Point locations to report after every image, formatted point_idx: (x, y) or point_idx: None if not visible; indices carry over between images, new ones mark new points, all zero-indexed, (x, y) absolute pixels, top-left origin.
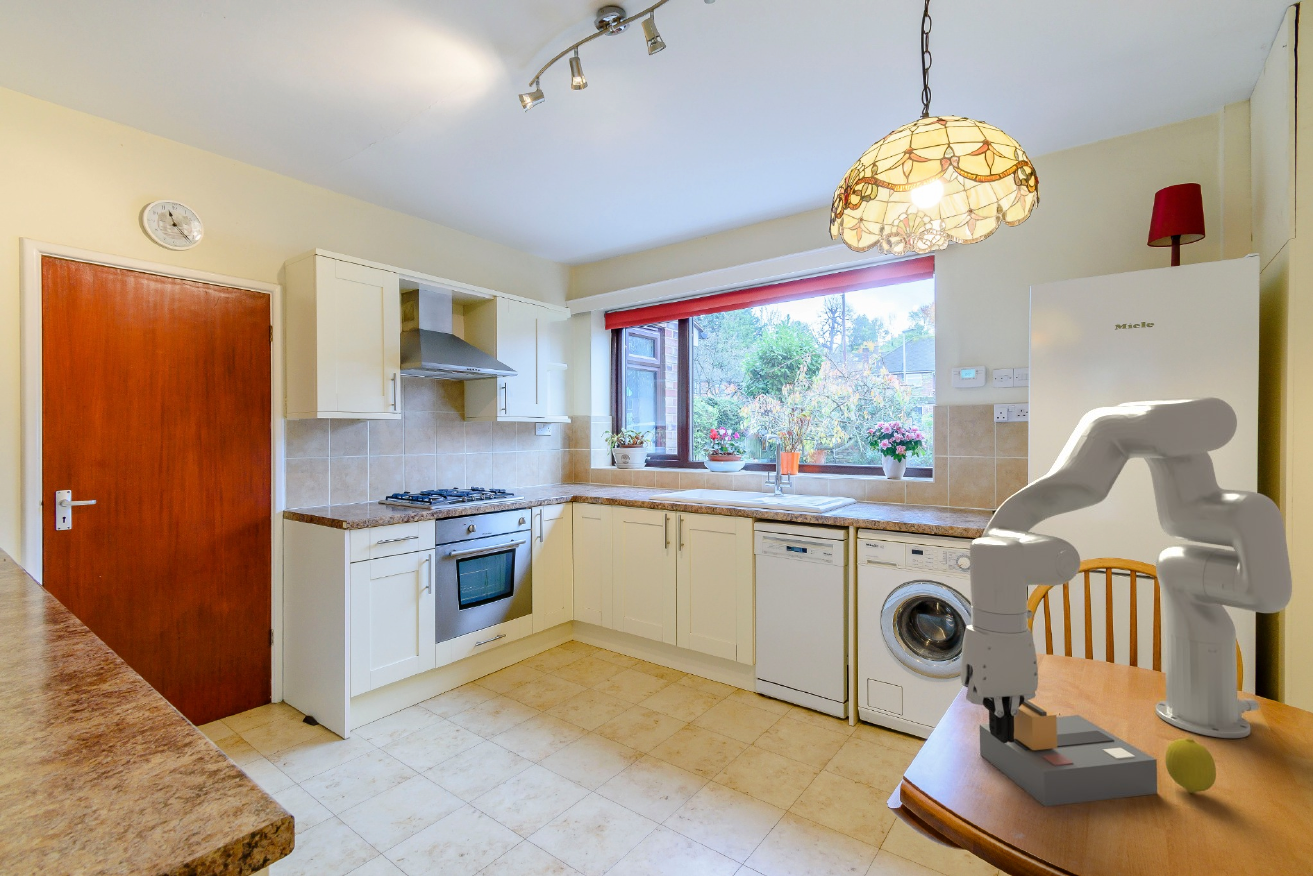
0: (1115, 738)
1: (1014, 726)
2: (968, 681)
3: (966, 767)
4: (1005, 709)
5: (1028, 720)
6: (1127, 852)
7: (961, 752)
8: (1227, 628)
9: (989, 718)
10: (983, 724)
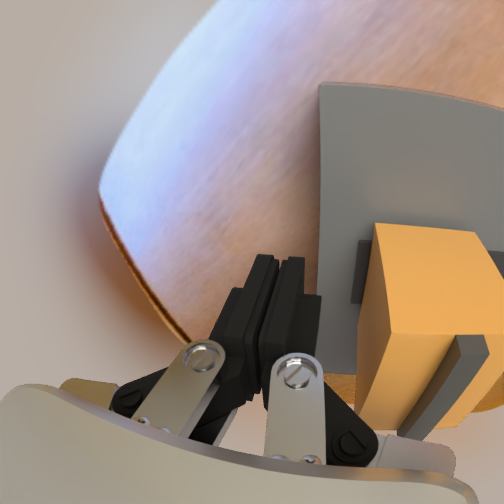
0: None
1: (374, 281)
2: (34, 403)
3: (236, 140)
4: (267, 404)
5: (357, 398)
6: (344, 390)
7: (268, 58)
8: None
9: (216, 324)
10: (339, 87)
